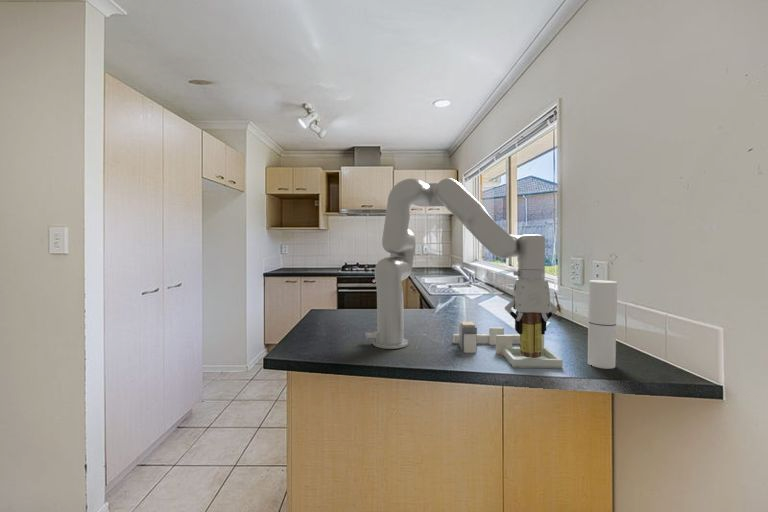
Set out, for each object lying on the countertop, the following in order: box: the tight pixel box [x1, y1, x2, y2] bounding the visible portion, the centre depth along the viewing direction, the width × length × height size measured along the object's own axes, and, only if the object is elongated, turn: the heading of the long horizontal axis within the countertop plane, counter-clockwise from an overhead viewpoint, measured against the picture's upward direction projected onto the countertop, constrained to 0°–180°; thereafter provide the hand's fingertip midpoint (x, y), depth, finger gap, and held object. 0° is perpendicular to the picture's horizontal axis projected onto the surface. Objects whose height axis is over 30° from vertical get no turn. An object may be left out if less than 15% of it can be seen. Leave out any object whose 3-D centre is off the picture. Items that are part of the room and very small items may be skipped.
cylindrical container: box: [587, 279, 618, 370], centre depth 108 cm, size 7×7×25 cm
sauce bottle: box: [519, 313, 542, 358], centre depth 112 cm, size 7×6×20 cm
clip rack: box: [452, 321, 545, 357], centre depth 125 cm, size 30×15×9 cm, turn 87°
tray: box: [502, 347, 563, 370], centre depth 112 cm, size 14×12×2 cm
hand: (530, 332), depth 112 cm, fingers closed on sauce bottle, 6 cm apart
